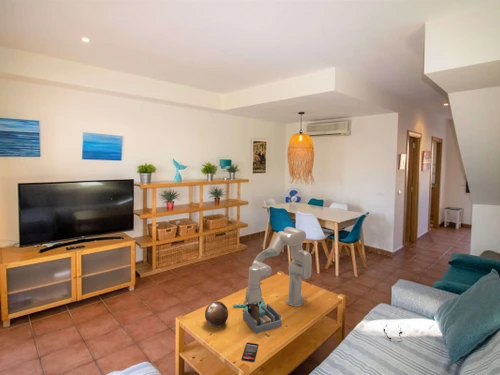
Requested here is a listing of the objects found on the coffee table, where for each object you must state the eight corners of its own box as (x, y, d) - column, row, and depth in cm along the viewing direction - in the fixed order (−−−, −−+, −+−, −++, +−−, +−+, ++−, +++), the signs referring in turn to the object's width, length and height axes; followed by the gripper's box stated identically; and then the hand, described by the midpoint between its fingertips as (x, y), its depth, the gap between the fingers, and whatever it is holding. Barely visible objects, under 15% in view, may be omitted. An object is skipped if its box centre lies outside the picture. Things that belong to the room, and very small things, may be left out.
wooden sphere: (200, 327, 183) (200, 305, 181) (213, 316, 196) (213, 295, 195) (220, 334, 176) (220, 311, 175) (232, 322, 190) (232, 300, 188)
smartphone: (241, 359, 155) (246, 342, 170) (241, 360, 155) (246, 343, 170) (254, 361, 154) (258, 344, 168) (254, 363, 154) (258, 345, 168)
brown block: (249, 319, 193) (250, 300, 192) (258, 329, 183) (259, 308, 181) (247, 320, 192) (247, 300, 191) (255, 330, 182) (256, 309, 180)
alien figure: (233, 308, 208) (255, 318, 196) (233, 305, 208) (255, 315, 196) (249, 297, 224) (271, 306, 212) (249, 295, 224) (271, 303, 212)
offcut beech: (266, 322, 191) (266, 315, 191) (270, 327, 186) (271, 319, 185) (258, 324, 188) (258, 317, 188) (262, 329, 183) (263, 322, 183)
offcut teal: (259, 311, 197) (259, 307, 197) (265, 315, 193) (265, 311, 192) (253, 313, 194) (253, 309, 194) (259, 317, 189) (259, 313, 189)
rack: (266, 312, 203) (267, 302, 203) (281, 326, 187) (281, 316, 186) (242, 318, 194) (243, 308, 194) (256, 333, 178) (256, 323, 178)
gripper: (262, 280, 192) (261, 306, 194) (239, 285, 184) (239, 312, 186) (268, 285, 185) (267, 312, 187) (245, 290, 177) (244, 318, 179)
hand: (253, 312), depth 187 cm, fingers open, 4 cm apart
